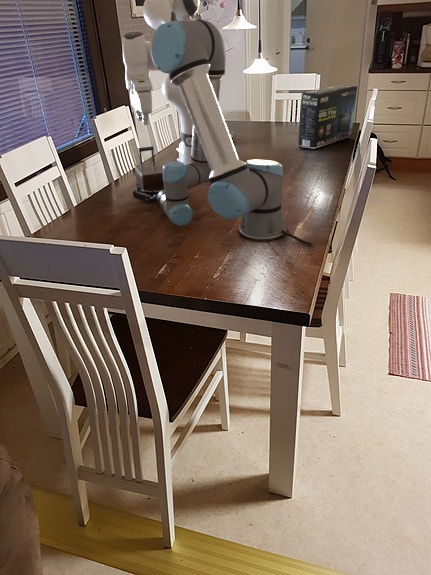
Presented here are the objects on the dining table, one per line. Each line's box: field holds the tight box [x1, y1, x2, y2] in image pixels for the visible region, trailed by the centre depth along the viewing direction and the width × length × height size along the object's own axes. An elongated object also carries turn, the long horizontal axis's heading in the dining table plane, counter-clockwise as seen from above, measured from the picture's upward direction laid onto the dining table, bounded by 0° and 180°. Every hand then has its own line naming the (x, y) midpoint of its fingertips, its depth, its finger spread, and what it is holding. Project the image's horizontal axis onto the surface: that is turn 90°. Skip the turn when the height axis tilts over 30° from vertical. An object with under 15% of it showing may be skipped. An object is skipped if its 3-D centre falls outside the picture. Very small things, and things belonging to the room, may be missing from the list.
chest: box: [134, 168, 164, 202], centre depth 182 cm, size 14×10×10 cm
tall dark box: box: [133, 145, 163, 178], centre depth 178 cm, size 15×10×8 cm
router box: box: [297, 84, 358, 151], centre depth 238 cm, size 36×11×27 cm, turn 134°
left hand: (142, 122), depth 175 cm, fingers open, 8 cm apart
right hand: (154, 184), depth 177 cm, fingers open, 13 cm apart
